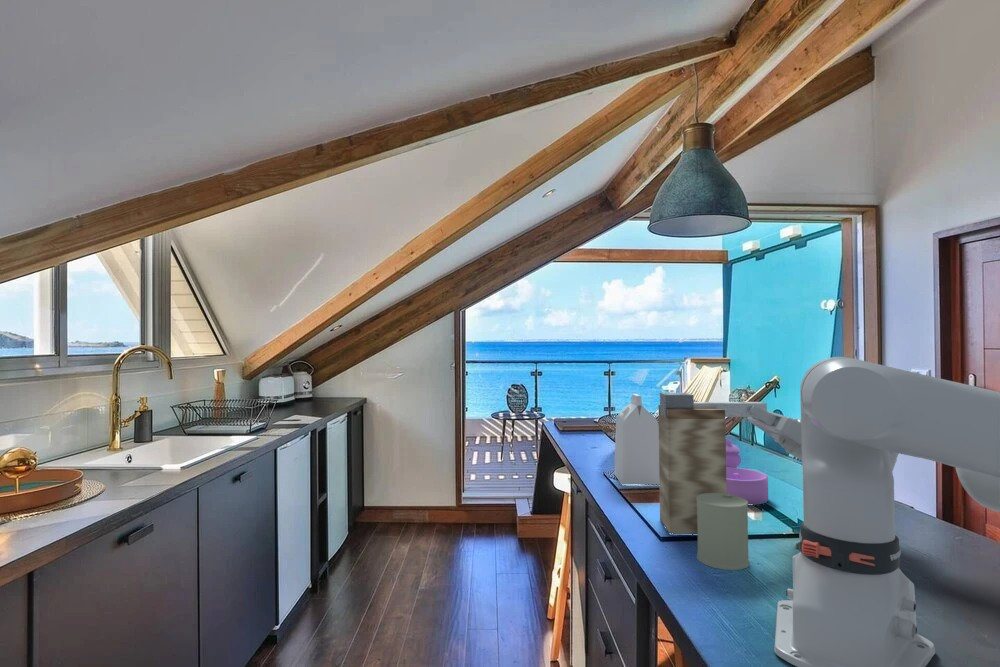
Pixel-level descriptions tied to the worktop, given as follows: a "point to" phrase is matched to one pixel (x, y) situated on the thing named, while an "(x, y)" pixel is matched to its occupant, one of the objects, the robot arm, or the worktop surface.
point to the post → (689, 464)
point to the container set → (744, 478)
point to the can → (722, 531)
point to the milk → (636, 445)
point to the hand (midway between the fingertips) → (746, 407)
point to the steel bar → (706, 405)
